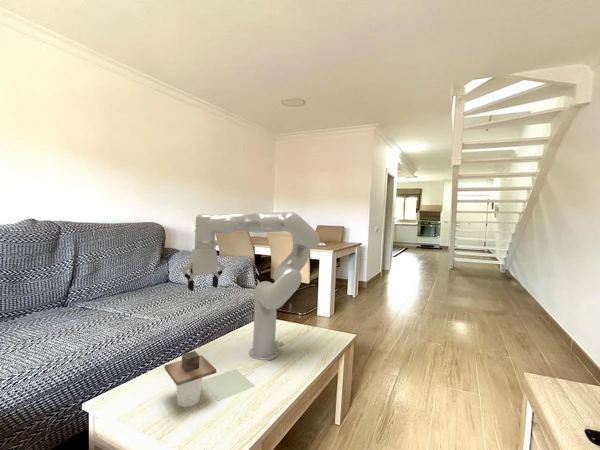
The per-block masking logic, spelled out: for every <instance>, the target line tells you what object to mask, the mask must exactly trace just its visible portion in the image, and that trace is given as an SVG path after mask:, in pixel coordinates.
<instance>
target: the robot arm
mask: <svg viewBox="0 0 600 450" xmlns="http://www.w3.org/2000/svg"><path fill="white" fill-rule="evenodd" d="M194 229H195V231H194V232H195V235H194V248H192V250H191V253H190V257H189V258H190V259H189V260H190V261H189V264H188V265H187V266H185V267H183V268H181V274H183V276H184V278H185V279H186V280H187V289H188V290H189V291H190V292H193V291H194V289H195V280H194V279H195V277H196V276H203V275H204V276H205V275H213V276H212V284H211V285H212V288H215V289H217V288H218V285H219V279H220V276H222V274H223V272H224V270H225V268H226V267H225V265H223V264H221V263H220V262H218V260H219V259H218V252H217V248H216V246H217V247H218V245H219V242H216V233H219V234H225V235H227V234H232V233H235V232H236V233H237V232H248V233H256V234H257V233H259V234H261V233H277V232H279V233H281V232H286V233H287V232H288V233H289V234H290V235H291V236H292V238H291V239H292V250H291V252H290V253H289V254H288V255H287V256H286V258H285V259H283V261H282V262H281V263H280V264H278V266H277V267H276V268H275V269H274V271H273V274H272V278H273V280H274V282H270V281H268V280H264V281H260V282H259V283H258V284H257V285H256V286H255V287H254V288H255V289H254V293H253V301H254V302H253V303H254V304H253V305H254V313H253V315H254V317H253V338H252V348H250V349H249V350H248V355H249V357H250V358H252V359H253V360H257V361H272V360H274V359H276V358H277V357H278V355H279V351H278V348H279V347H283V346H284V341H279V342H278V340H276V333H277V332H276V329H277V310H278V309H280V308H281V307H283V306H284V304H286V302H287V301H288V300H289V299H290V298H291V297H292V296H293V294H294V293H295V292H296V291H297V290H298V289H299V288H300V286H301V283H302V278H303V277H302V273H301V272H300V271H301V270H303V268H304V267H305V266H306V264H307V263H308V260H309V257H310V250H314V249H316V248H317V247H318V246H319V244H320V240H321V239H320V235H319V233H318V232H317V231H316V230H315V229H314V228H313V227H312V226H311V225H310V224H309V223H308V222H307V221H306V220H305V219H303V218H302V216H300V215H299V214H298V213H296V212H293V211H290V212H287V211H282V212H281V211H280V212H279V211H278V212H252V213H245V214H243V213H241V214H220V215H214V214H204V213H200V214H197V215H196V216H195V228H194ZM188 272H189V273H188Z"/></svg>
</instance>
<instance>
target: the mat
mask: <svg viewBox="0 0 600 450" xmlns="http://www.w3.org/2000/svg"><path fill="white" fill-rule="evenodd" d="M202 385H203V386H204V387H205V388H206V390H207V391H208V392H210V394H211V395H212V396H213V397H214V399H215V400H216V402H219V401H222V400H224V399H227V398H229V397H232V396H235V395H237V394H239V393H242V392H244V391H247V390H249V389H252V388H254V387H255V388H256V385H255V384H254V383H253V382H252V381H251V380H249V379H248V378H247V377H246V376H245V375H243V374H242V373H241V372H240V371H239V370H238V369H236V368H235V369H231V370H229V371H225V372H223V373H220V374H217V375H214V376H212V377H207V378H206V379H205V378H204V379H202Z"/></svg>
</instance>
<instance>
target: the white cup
mask: <svg viewBox="0 0 600 450" xmlns="http://www.w3.org/2000/svg"><path fill="white" fill-rule="evenodd" d="M202 380H203V377H202V378H199V379H196V380H193V381H190V382H187V383H184V384H181V385H178V386H177V385H176V403H177V405H178V406H179V407H183V408H184V407H186V408H188V407H193V406H195V405H197V404H198V402H200V400H201V392H202V385H203V383H202Z"/></svg>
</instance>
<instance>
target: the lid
mask: <svg viewBox="0 0 600 450" xmlns="http://www.w3.org/2000/svg"><path fill="white" fill-rule="evenodd" d="M164 370H165V371H166V373H167V374H168V376H169V377H170V379H171V380H172V381H173V382H174V384H175V385H176V387H177V386H178V385H181V384H184V383H187V382H190V381H193V380H196V379H199V378H202V379H203V378H205V377H208V376H212V375H214V374H217V369H216V367H214V366H213V365H212V364H211V362H210V361H208V359H206V358H205V357H204V356H203V355H202V354H198V353H197V351H196V350H194V351H193V350H192V351H189V352H185V353H182V354H181V360H177V361H176V362H171V363H168V364H165V365H164Z"/></svg>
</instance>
